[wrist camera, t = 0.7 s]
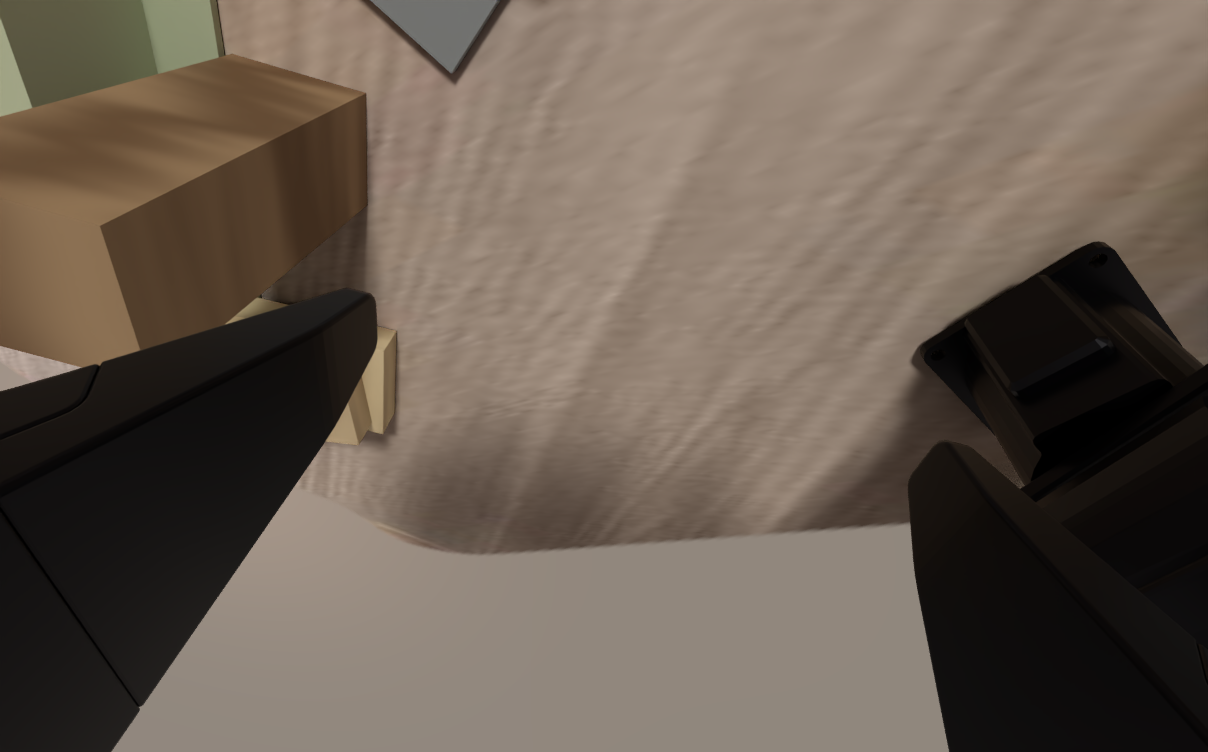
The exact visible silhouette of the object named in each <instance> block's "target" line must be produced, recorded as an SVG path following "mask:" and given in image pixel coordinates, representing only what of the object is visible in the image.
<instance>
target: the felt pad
mask: <svg viewBox="0 0 1208 752" xmlns="http://www.w3.org/2000/svg"><path fill="white" fill-rule="evenodd" d="M371 1H372V2H373V3H374V4H375V5H376V6H377V7H378V8H379V9H381V10H382V11H383V12H384V13H385V14H386V15H387V16H388V17H389V18H390V19H392V20H393V21H394V22H395V23H396V24H397V25H398V26H399V27H400V28H401V29H403V30H404V31H405V32H406V33H407V34H408V35H409V36H410V37H411V38H413V39H414V40H415V41H416V42H417V43H418V44H419V45H420V46H421V47H422V48H424V49H425V50H426V51H427V52H428V53H429V54H430V55H431V56H432V57H434V58H435V59H436V60H437V61H438V62H439V63H440V64H441V65H442V66H443V67H445V68H446V69H447V70H448V71H449V72H450V73H453V72H455V71H456V69H457V68H458V66H459V65H460V63H461V62H462V60H463V58H464V57H465V55H466V54H467V52H468V51H469V49H470V47H471V46H472V44H473V43H474V41H475V40H476V38H477V36H478V35H479V33H480V32H481V30H482V29H483V27H484V25H485V24H486V22H487V21H488V19H489V18H490V16H491V14H492V13H493V11H494V10H495V8H496V7H497V5H498V4H499V2H500V0H371Z"/></svg>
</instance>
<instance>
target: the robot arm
mask: <svg viewBox="0 0 1208 752" xmlns="http://www.w3.org/2000/svg"><path fill="white" fill-rule="evenodd" d="M1098 254H1101V255H1100V257H1099V258H1098V259H1097V260H1096V261H1093V262H1090V260H1091V258H1093V257H1094V256H1095V255H1098ZM377 340H378V333H377V313H376V301H375V298H374V297H373V296H372V295H371V294H370V293H366V292H363V291H359V290H355V289H351V288H344V289H340V290H337V291H334V292H331V293H327V294H324V295H321V296H317V297H314V298H311V299H307V300H304V301H301V302H298V303H294V304H291V305H288V306H284V307H281V308H278V309H274V310H271V311H268V312H265V313H261V314H258V315H255V316H251V317H248V318H245V319H241V320H238V321H235V322H232V323H228V324H225V325H222V326H218V327H215V328H212V329H209V330H205V331H202V332H199V333H195V334H192V335H189V336H185V337H182V338H179V339H176V340H172V341H169V342H166V343H162V344H159V345H156V346H152V347H149V348H146V349H143V350H139V351H136V352H133V353H129V354H126V355H123V356H119V357H116V358H113V359H110V360H106V361H103V362H102V363H101V365H100V366H99V365H98V364H92V365H89V366H86V367H83V368H79V369H76V370H73V371H70V372H67V373H63V374H60V375H56V376H53V377H49V378H46V379H42V380H39V381H36V382H32V383H29V384H25V385H22V386H19V387H15V388H11V389H7V390H4V391H0V752H111V751H112V750H113V749H114V747H115V746H116V744H117V743H118V741H119V740H120V738H121V737H122V736H123V734H124V733H125V731H126V730H127V728H128V727H129V725H130V724H131V723H132V721H133V720H134V718H135V717H136V715H137V714H138V712H139V710H140V708H139V707H140V706H142V705H143V704H144V703H145V701H146V700H147V699H148V697H149V696H150V694H151V693H152V691H153V690H154V688H155V687H156V686H157V684H158V683H159V681H160V680H161V678H162V677H163V676H164V674H165V673H166V671H167V670H168V668H169V667H170V665H171V664H172V663H173V661H174V660H175V658H176V657H177V655H178V654H179V652H180V651H181V649H182V648H183V647H184V645H185V644H186V642H187V641H188V639H189V638H190V636H191V635H192V634H193V632H194V631H195V629H196V628H197V626H198V625H199V623H200V622H201V621H202V619H203V618H204V616H205V615H206V613H207V612H208V610H209V609H210V608H211V606H212V605H213V603H214V602H215V600H216V599H217V597H218V596H219V595H220V593H221V592H222V590H223V589H224V587H225V586H226V584H227V583H228V582H229V580H230V579H231V577H232V576H233V574H234V573H235V571H236V570H237V569H238V567H239V566H240V564H241V563H242V561H243V560H244V558H245V557H246V556H247V554H248V553H249V551H250V550H251V548H252V547H253V545H254V544H255V543H256V541H257V540H258V538H259V537H260V535H261V534H262V532H263V531H264V530H265V528H266V527H267V525H268V524H269V522H270V521H271V519H272V518H273V516H274V515H275V514H276V512H277V511H278V509H279V508H280V506H281V505H282V504H283V502H284V501H285V499H286V498H287V496H288V495H289V493H290V492H291V491H292V489H293V488H294V486H295V485H296V483H297V482H298V480H299V479H300V478H301V476H302V475H303V473H304V472H305V470H306V469H307V467H308V466H309V465H310V463H311V462H312V460H313V459H314V457H315V456H316V454H317V453H318V452H319V450H320V449H321V447H322V446H323V444H324V443H325V441H326V440H327V438H328V437H329V435H330V434H331V432H332V431H333V429H334V428H335V426H336V424H337V422H338V421H339V419H340V417H341V415H342V413H343V411H344V409H345V408H346V406H347V404H348V402H349V400H350V398H351V396H352V394H353V392H354V390H355V388H356V387H357V385H358V383H359V381H360V379H361V377H362V375H363V373H364V371H365V369H366V367H367V365H368V364H369V362H370V360H371V358H372V356H373V354H374V352H375V349H376V346H377ZM936 350H941V351H940V352H939V353H938V354H935V355H931V354H932V353H933V352H934V351H936ZM921 355H922V357H923V359H924V361H925V362H926V364H927V365H928V366H929V367H930V368H931V369H932V370H933V371H934V372H935V373H936V374H937V375H938V376H939V377H940V378H941V379H942V380H943V381H944V382H945V383H946V384H947V385H948V387H949V388H950V389H951V390H952V391H953V392H954V393H955V394H956V395H957V396H958V397H959V398H960V399H961V400H962V401H963V402H964V403H965V404H966V405H967V406H968V407H969V408H970V410H971V411H972V412H973V413H974V414H975V415H976V416H977V417H978V418H979V419H980V420H981V421H982V422H983V423H984V424H985V425H986V426H987V427H988V428H989V429H990V430H991V431H992V433H993V434H994V435H995V436H996V437H997V439H998V441H999V443H1000V444H1001V446H1002V448H1003V449H1004V451H1005V453H1006V454H1007V456H1008V458H1009V460H1010V461H1011V463H1012V465H1013V466H1014V468H1015V470H1016V471H1017V473H1018V475H1019V477H1020V478H1021V480H1022V482H1023V483H1024V485H1025V486H1024V487H1022V488H1021V489H1019V488H1018V487H1017V486H1016V485H1014V484H1013V483H1012V482H1011V481H1010V480H1009V479H1007V478H1006V477H1005V476H1004V475H1003V474H1002V473H1000V472H999V471H998V470H997V469H996V468H995V467H993V466H992V465H991V464H990V463H989V462H988V461H986V460H985V459H984V458H983V457H982V456H981V455H979V454H978V453H977V452H976V451H975V450H974V449H972V448H971V447H969V446H967V445H963V444H959V443H955V442H951V441H947V440H944V441H940V442H938V443H936V444H935V445H934V446H933V447H932V449H931V450H930V451H929V453H928V454H927V455H926V456H925V458H924V459H923V460H922V461H921V463H920V464H919V465H918V467H917V468H916V469H915V470H914V472H913V473H912V475H911V477H910V479H909V483H908V498H909V511H910V524H911V536H912V549H913V562H914V571H915V578H916V583H917V589H918V595H919V600H920V605H921V611H922V616H923V621H924V626H925V631H926V636H927V641H928V646H929V651H930V657H931V662H932V667H933V672H934V677H935V682H936V687H937V692H938V697H939V703H940V707H941V713H942V718H943V723H944V728H945V733H946V738H947V743H948V748H949V752H1208V364H1206V365H1205V366H1204V365H1203V364H1202V363H1200V362H1199V361H1198V360H1197V359H1196V358H1195V357H1193V356H1192V355H1191V354H1190V353H1189V352H1188V351H1187V350H1185V349H1184V348H1183V347H1182V345H1181V344H1180V342H1179V341H1178V340H1177V338H1176V337H1175V335H1174V334H1173V332H1172V331H1171V330H1170V328H1169V327H1168V325H1167V324H1166V322H1165V321H1164V320H1163V318H1162V317H1161V315H1160V314H1159V312H1158V311H1157V310H1156V308H1155V307H1154V305H1153V304H1152V302H1151V301H1150V300H1149V298H1148V297H1147V295H1146V294H1145V292H1144V291H1143V290H1142V288H1141V287H1140V285H1139V284H1138V282H1137V281H1136V280H1135V278H1134V277H1133V275H1132V274H1131V273H1130V271H1129V270H1128V268H1127V267H1126V265H1125V264H1124V263H1123V261H1122V260H1121V258H1120V257H1119V255H1118V254H1117V253H1116V251H1115V250H1114V249H1112V248H1111V247H1110V246H1108V245H1107V244H1106V243H1104V242H1099V241H1098V242H1092V243H1090V244H1087V245H1085V246H1083V247H1082V248H1080V249H1078V250H1077V251H1075V252H1073V253H1072V254H1070V255H1069V256H1067V257H1065V258H1064V259H1062V260H1060V261H1059V262H1057V263H1055V264H1054V265H1052V266H1050V267H1049V268H1047V269H1046V270H1044V271H1042V272H1041V273H1039V274H1037V275H1036V276H1034V277H1032V278H1031V279H1029V280H1027V281H1026V282H1024V283H1022V284H1021V285H1019V286H1018V287H1016V288H1014V289H1013V290H1011V291H1009V292H1008V293H1006V294H1004V295H1003V296H1001V297H999V298H998V299H996V300H995V301H993V302H991V303H990V304H988V305H986V306H985V307H983V308H981V309H980V310H978V311H976V312H975V313H973V314H971V315H970V316H968V317H967V318H965V319H963V320H962V321H960V322H958V323H957V324H955V325H953V326H952V327H950V328H948V329H947V330H945V331H944V332H942V333H940V334H939V335H937V336H935V337H934V338H932V339H930V340H929V341H927V342H926V343H925V344H924V345H923V346H922V348H921Z"/></svg>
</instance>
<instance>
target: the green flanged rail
mask: <svg viewBox="0 0 1208 752" xmlns="http://www.w3.org/2000/svg"><path fill="white" fill-rule="evenodd" d="M223 56H225V55H224V49H223V42H222V35H221V29H220V22H219V15H218V9H217V2H216V0H0V117H1V116H5V115H8V114H12V113H16V112H19V111H23V110H27V109H30V108H34V107H38V106H42V105H45V104H49V103H53V102H56V101H60V100H64V99H67V98H71V97H75V96H78V95H82V94H86V93H90V92H93V91H97V90H101V89H104V88H108V87H112V86H115V85H119V84H123V83H127V82H130V81H134V80H138V79H141V78H145V77H149V76H152V75H156V74H160V73H163V72H167V71H171V70H175V69H178V68H182V67H186V66H189V65H193V64H197V63H200V62H204V61H208V60H211V59H215V58H219V57H223ZM257 298H261V295H259V296H258V297H257Z"/></svg>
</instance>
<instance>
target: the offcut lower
mask: <svg viewBox="0 0 1208 752" xmlns="http://www.w3.org/2000/svg"><path fill="white" fill-rule="evenodd" d="M284 306H288V305H286V304H282V303H278V302H274V301H270V300H266V299H261V298H256V299H255V300H253V301H252V302H251V303H250V304H249V305H248V306H246V307H245V308H244V309H243V310H242V311H240V312H239V313H238V314H237V315H236V316H234V317H233V318H232V319H231V320H230V321H228V322H227V323H226V324H228V323H232V322H235V321H238V320H241V319H245V318H248V317H251V316H255V315H258V314H261V313H265V312H268V311H271V310H274V309H278V308H281V307H284ZM377 333H378V340H377V346H376V349H375V352H374V354H373V356H372V358H371V360H370V362H369V364H368V365H367V367H366V369H365V371H364V373H363V375H362V380H363V384H364V389H365V393H366V398H367V402H368V406H369V411H370V415H371V420H372V423H371V425H370V427H369V428H368V430H367V431H371V432H375V433H380V434H383V433H384V432H385V430H386V428H387V426H388V424H389V422H390V420H391V418H392V417H393V415H394V413H395V372H396V331H394V330H390V329H386V328H382V327H378V326H377Z"/></svg>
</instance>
